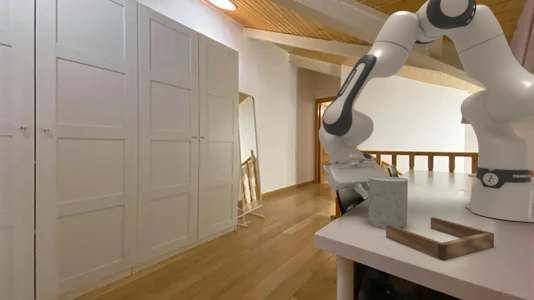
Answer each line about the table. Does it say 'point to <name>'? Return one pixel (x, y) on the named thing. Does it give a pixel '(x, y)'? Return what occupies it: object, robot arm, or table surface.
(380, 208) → the grey speckled cylinder
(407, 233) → the walnut corral
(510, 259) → the table surface
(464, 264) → the table surface
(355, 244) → the table surface
